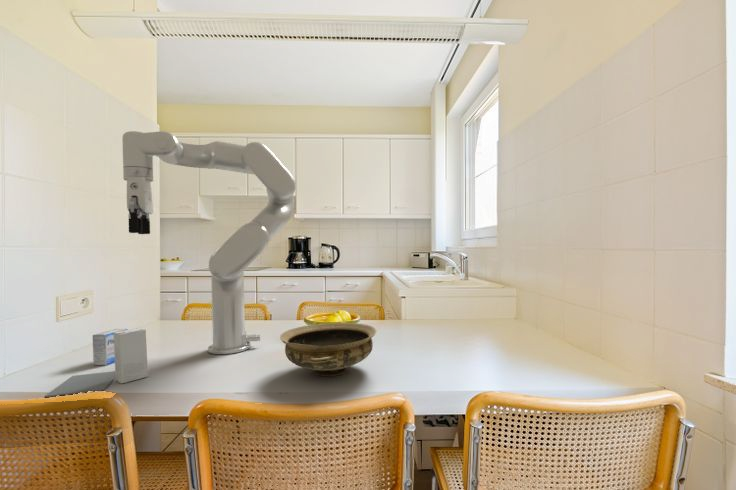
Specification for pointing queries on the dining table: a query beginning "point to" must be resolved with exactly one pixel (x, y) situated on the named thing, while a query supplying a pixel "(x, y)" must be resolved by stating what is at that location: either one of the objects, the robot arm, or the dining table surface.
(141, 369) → the skincare box
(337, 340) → the ceramic bowl
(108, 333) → the medicine box
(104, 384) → the mat
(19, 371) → the dining table surface
